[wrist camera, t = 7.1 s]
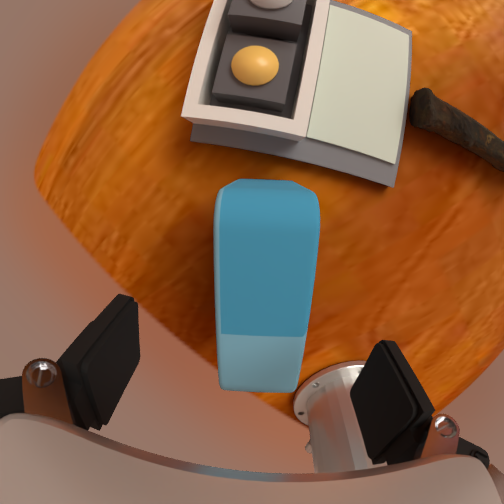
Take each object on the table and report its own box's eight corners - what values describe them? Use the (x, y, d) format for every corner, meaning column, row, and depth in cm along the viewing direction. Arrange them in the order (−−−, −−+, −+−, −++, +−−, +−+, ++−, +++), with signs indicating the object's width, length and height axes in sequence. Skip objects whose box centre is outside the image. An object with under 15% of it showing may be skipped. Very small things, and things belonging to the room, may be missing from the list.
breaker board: (388, 186, 22) (413, 192, 17) (192, 141, 21) (176, 136, 17) (407, 34, 16) (428, 18, 12) (233, -12, 16) (228, -37, 12)
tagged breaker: (281, 112, 19) (285, 102, 16) (218, 101, 19) (211, 91, 16) (292, 58, 17) (297, 42, 14) (231, 49, 17) (226, 32, 14)
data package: (283, 308, 26) (294, 403, 14) (236, 306, 26) (219, 400, 14) (292, 179, 22) (323, 194, 11) (238, 177, 22) (212, 190, 11)
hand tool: (403, 127, 20) (429, 122, 16) (408, 91, 19) (434, 80, 14) (510, 192, 21) (535, 199, 16) (515, 163, 19) (539, 167, 15)
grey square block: (296, 42, 16) (302, 23, 12) (232, 32, 15) (227, 12, 12) (305, -1, 14) (310, -21, 11) (245, -10, 14) (242, -31, 11)
